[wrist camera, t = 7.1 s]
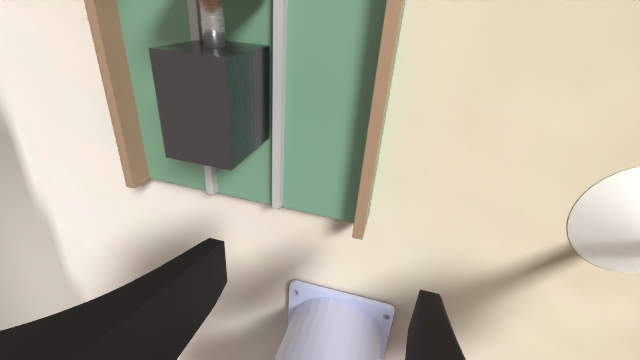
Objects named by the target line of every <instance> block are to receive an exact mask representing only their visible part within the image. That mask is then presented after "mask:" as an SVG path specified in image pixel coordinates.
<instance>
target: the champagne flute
mask: <svg viewBox="0 0 640 360" xmlns="http://www.w3.org/2000/svg"><path fill="white" fill-rule="evenodd" d="M567 230H568V237H569V240H570V242H571V245H572V246H573V248H574V249H575V250H576V252H577V253H578V254H579V255H580V256H582V257H583V258H584V259H585V260H587V261H588V262H590V263H592V264H594V265H596V266H599V267H601V268H604V269H607V270H612V271H618V272H628V273H640V167H635V168H632V169H628V170H625V171H622V172H618V173H616V174H614V175H612V176H610V177H608V178H605V179H603V180H602V181H600V182H599V183H597V184H596V185H594V186H593V187H591V188H590V189H589V190H588V191H587V192H586V193H585V194H583V195H582V196H581V197H580V199H579V200H578V201H577V203H576V204H575V205H574V207H573V209H572V211H571V213H570V215H569V219H568V225H567Z"/></svg>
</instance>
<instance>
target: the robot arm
mask: <svg viewBox="0 0 640 360" xmlns="http://www.w3.org/2000/svg"><path fill="white" fill-rule="evenodd" d="M226 283H227V271H226V259H225V247H224V241H220V240H216V239H212V238H208V239H207V240H205V241H203V242H201V243H200V244H198V245H196V246H194V247H193V248H191V249H189V250H188V251H186V252H184V253H183V254H181V255H179V256H177V257H176V258H174V259H172V260H171V261H169V262H167V263H165V264H164V265H162V266H160V267H158V268H157V269H155V270H153V271H151V272H149V273H147V274H145V275H143V276H141V277H140V278H138V279H136V280H134V281H132V282H130V283H128V284H126V285H124V286H122V287H120V288H118V289H116V290H113V291H111V292H109V293H107V294H104V295H102V296H100V297H98V298H95V299H93V300H90V301H88V302H85V303H83V304H80V305H78V306H75V307H72V308H70V309H67V310H64V311H62V312H59V313H57V314H53V315H51V316H48V317H45V318H42V319H39V320H36V321H32V322H29V323H26V324H22V325H20V326H16V327H13V328H9V329H6V330H2V331H0V360H177V358H178V357H179V355H180V354H181V353H182V351H183V350H184V348H185V347H186V346H187V344H188V343H189V341H190V340H191V339H192V337H193V336H194V334H195V333H196V332H197V330H198V329H199V327H200V326H201V324H202V323H203V322H204V320H205V319H206V317H207V316H208V314H209V313H210V312H211V310H212V309H213V307H214V306H215V304H216V302H217V300H218V298H219V297H220V295H221V293H222V291H223V289H224V287H225V285H226ZM294 290H295V291H294ZM296 291H297V292H296ZM394 313H395V308H394V307H393V306H392V305H390V304H387V303H383V302H379V301H375V300H372V299H368V298H364V297H360V296H356V295H352V294H348V293H344V292H341V291H337V290H333V289H329V288H325V287H321V286H317V285H314V284H310V283H306V282H302V281H298V280H293V281H291V283H290V285H289V305H288V328H287V330H286V333H285V335H284V337H283V340H282V342H281V344H280V347H279V349H278V351H277V354H276V356H275V359H274V360H383V356H384V352H385V349H386V345H387V341H388V337H389V333H390V329H391V325H392V321H393V317H394ZM386 315H388V316H386ZM405 360H465V357H464V355H463V353H462V351H461V348H460V346H459V344H458V342H457V339H456V337H455V334H454V332H453V329H452V327H451V324H450V322H449V319H448V316H447V313H446V310H445V307H444V304H443V301H442V298H441V296H440V295H439V294H436V293H432V292H428V291H424V290H420V292H419V295H418V298H417V302H416V305H415V308H414V312H413V315H412V319H411V322H410V325H409V329H408V335H407V346H406V357H405Z"/></svg>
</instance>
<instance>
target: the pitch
mask: <svg viewBox="0 0 640 360" xmlns="http://www.w3.org/2000/svg"><path fill="white" fill-rule="evenodd" d="M84 2H85V7H86V11H87V16H88V20H89V24H90V29H91V33H92V37H93V42H94V46H95V51H96V55H97V59H98V64H99V68H100V72H101V77H102V81H103V86H104V90H105V94H106V99H107V103H108V107H109V112H110V116H111V121H112V125H113V129H114V134H115V138H116V142H117V147H118V151H119V156H120V160H121V164H122V169H123V173H124V177H125V182H126V186H127V187H130V188H136V187H137V186H139V185H140V184H142V183H144V182H145V181H147V180H148V179H154V180H159V181H164V182H168V183H173V184H178V185H182V186H187V187H192V188H196V189H201V190H205V191H206V192H207V194H211V195H214V194H215V193H219V194H224V195H229V196H233V197H238V198H242V199H247V200H252V201H256V202H261V203H266V204H270V205H272V208H275V209H280V208H281V207H284V208H289V209H293V210H298V211H303V212H307V213H312V214H317V215H321V216H326V217H330V218H335V219H340V220H344V221H349V222H354V228H353V234H352V237H353V238H357V239H361V240H362V239H363V235H364V231H365V227H366V224H367V220H368V216H369V211H370V205H371V199H372V193H373V187H374V181H375V175H376V170H377V164H378V158H379V152H380V146H381V140H382V134H383V128H384V123H385V117H386V111H387V105H388V99H389V93H390V87H391V81H392V75H393V70H394V64H395V58H396V52H397V46H398V40H399V34H400V28H401V23H402V17H403V11H404V5H405V0H223V5H224V23H225V40H226V41H235V42H243V43H252V44H260V45H269V46H270V120H269V139H268V140H266V141H265V142H264V143H263V144H262V145H261V146H259V147H258V148H257V149H256V150H255V151H254V152H253V153H251V154H250V155H249V156H248V157H247V158H246V159H245V160H243V161H242V162H241V163H240V164H239V165H238V166H236V167H235V168H234V169H233V170H232V171H231V170H226V169H221V168H216V167H211V166H206V165H201V164H196V163H191V162H186V161H181V160H176V159H171V158H166V156H165V149H164V143H163V137H162V130H161V124H160V118H159V111H158V105H157V99H156V92H155V86H154V80H153V73H152V67H151V61H150V54H149V48H151V47H157V46H163V45H170V44H176V43H182V42H188V41H194V40H201V39H202V27H201V16H200V4H199V0H84Z"/></svg>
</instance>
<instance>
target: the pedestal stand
mask: <svg viewBox="0 0 640 360" xmlns="http://www.w3.org/2000/svg"><path fill="white" fill-rule="evenodd" d="M199 4H200V16H201V27H202V39H201V40H194V41H188V42H182V43H176V44H170V45H163V46H157V47H151V48H149V54H150V61H151V67H152V73H153V80H154V86H155V92H156V99H157V105H158V111H159V118H160V124H161V130H162V137H163V143H164V149H165V156H166V158H171V159H176V160H181V161H186V162H191V163H196V164H201V165H206V166H211V167H216V168H221V169H226V170H231V171H232V170H233V169H234V168H235V167H236V166H238V165H239V164H240V163H241V162H242V161H243V160H245V159H246V158H247V157H248V156H249V155H250V154H251V153H253V152H254V151H255V150H256V149H257V148H258V147H259V146H261V145H262V144H263V143H264V142H265V141H266V140H268V139H269V120H270V46H269V45H260V44H252V43H243V42H235V41H226V40H225V23H224V5H223V0H199Z"/></svg>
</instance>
